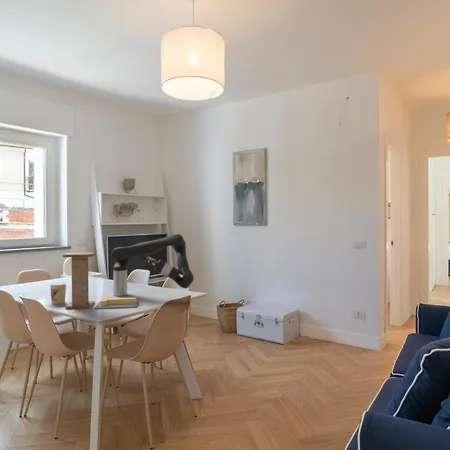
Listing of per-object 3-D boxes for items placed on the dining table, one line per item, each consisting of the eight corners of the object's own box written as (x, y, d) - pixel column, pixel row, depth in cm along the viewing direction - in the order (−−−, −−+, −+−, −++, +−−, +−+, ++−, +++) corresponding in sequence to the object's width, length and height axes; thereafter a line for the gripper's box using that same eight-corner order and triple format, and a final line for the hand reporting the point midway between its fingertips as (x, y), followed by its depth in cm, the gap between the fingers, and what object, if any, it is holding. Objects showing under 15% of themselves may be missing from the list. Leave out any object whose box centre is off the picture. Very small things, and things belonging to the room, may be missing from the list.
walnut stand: (69, 304, 243) (68, 252, 242) (96, 303, 245) (95, 252, 245) (63, 309, 229) (63, 254, 229) (92, 308, 231) (91, 254, 231)
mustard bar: (103, 302, 244) (103, 297, 244) (136, 301, 247) (136, 296, 247) (101, 305, 234) (101, 300, 234) (135, 304, 237) (135, 299, 237)
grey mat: (100, 302, 249) (100, 300, 249) (138, 300, 252) (138, 299, 252) (94, 309, 229) (94, 307, 229) (136, 307, 232) (136, 306, 232)
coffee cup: (47, 303, 246) (47, 284, 246) (60, 300, 254) (60, 282, 254) (56, 305, 241) (55, 285, 241) (69, 302, 249) (69, 283, 249)
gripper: (166, 261, 252) (144, 249, 249) (166, 264, 238) (142, 251, 235) (160, 271, 251) (138, 259, 249) (160, 274, 237) (136, 262, 235)
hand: (140, 255), depth 242 cm, fingers open, 8 cm apart
